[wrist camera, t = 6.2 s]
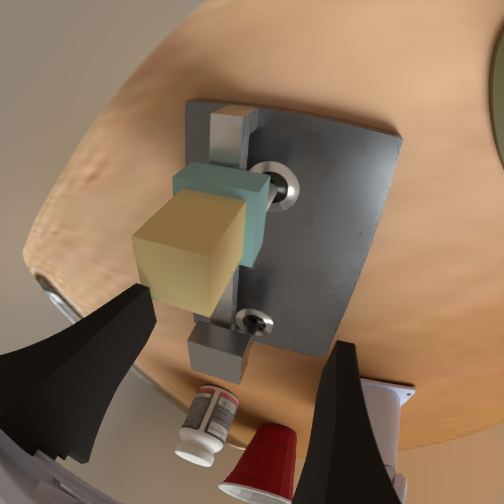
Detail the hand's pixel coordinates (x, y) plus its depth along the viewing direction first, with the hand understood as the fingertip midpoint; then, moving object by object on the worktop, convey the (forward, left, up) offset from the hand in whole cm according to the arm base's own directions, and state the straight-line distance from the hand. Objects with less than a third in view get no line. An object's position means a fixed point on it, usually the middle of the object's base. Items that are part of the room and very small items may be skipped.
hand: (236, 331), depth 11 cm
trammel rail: (-4, +3, -9) cm, 10 cm away
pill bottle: (-29, +5, -11) cm, 31 cm away
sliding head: (+1, +3, -9) cm, 9 cm away
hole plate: (-4, +1, -10) cm, 11 cm away
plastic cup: (-36, -4, -11) cm, 38 cm away
